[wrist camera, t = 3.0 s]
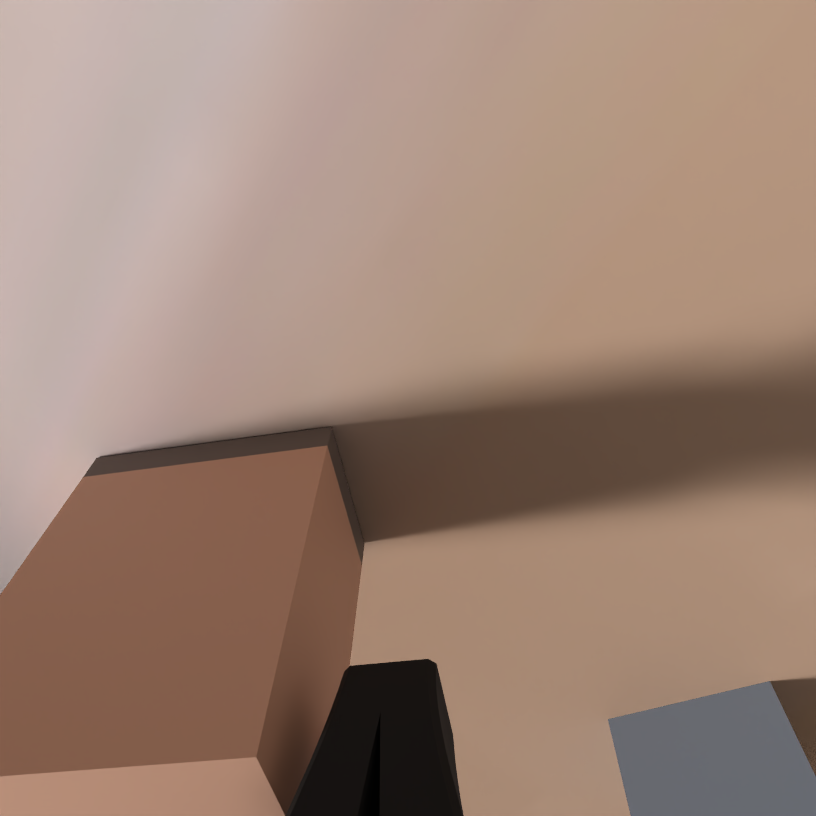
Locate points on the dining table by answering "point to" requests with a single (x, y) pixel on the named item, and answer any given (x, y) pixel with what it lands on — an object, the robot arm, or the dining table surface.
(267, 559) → the tan cuboid
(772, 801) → the slate block
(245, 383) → the dining table surface
